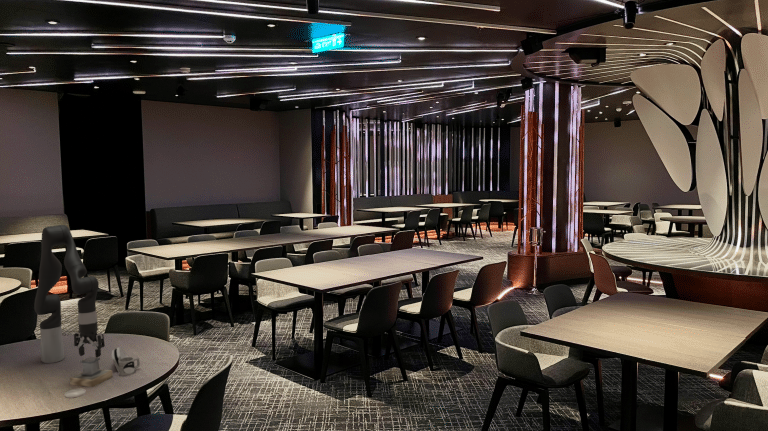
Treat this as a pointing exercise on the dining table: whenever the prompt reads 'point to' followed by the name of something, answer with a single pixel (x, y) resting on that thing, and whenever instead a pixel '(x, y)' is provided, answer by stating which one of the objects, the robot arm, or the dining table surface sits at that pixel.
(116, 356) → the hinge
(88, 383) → the wooden framed mirror
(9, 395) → the dining table surface
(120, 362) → the mug
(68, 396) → the white smooth dome part
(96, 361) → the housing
